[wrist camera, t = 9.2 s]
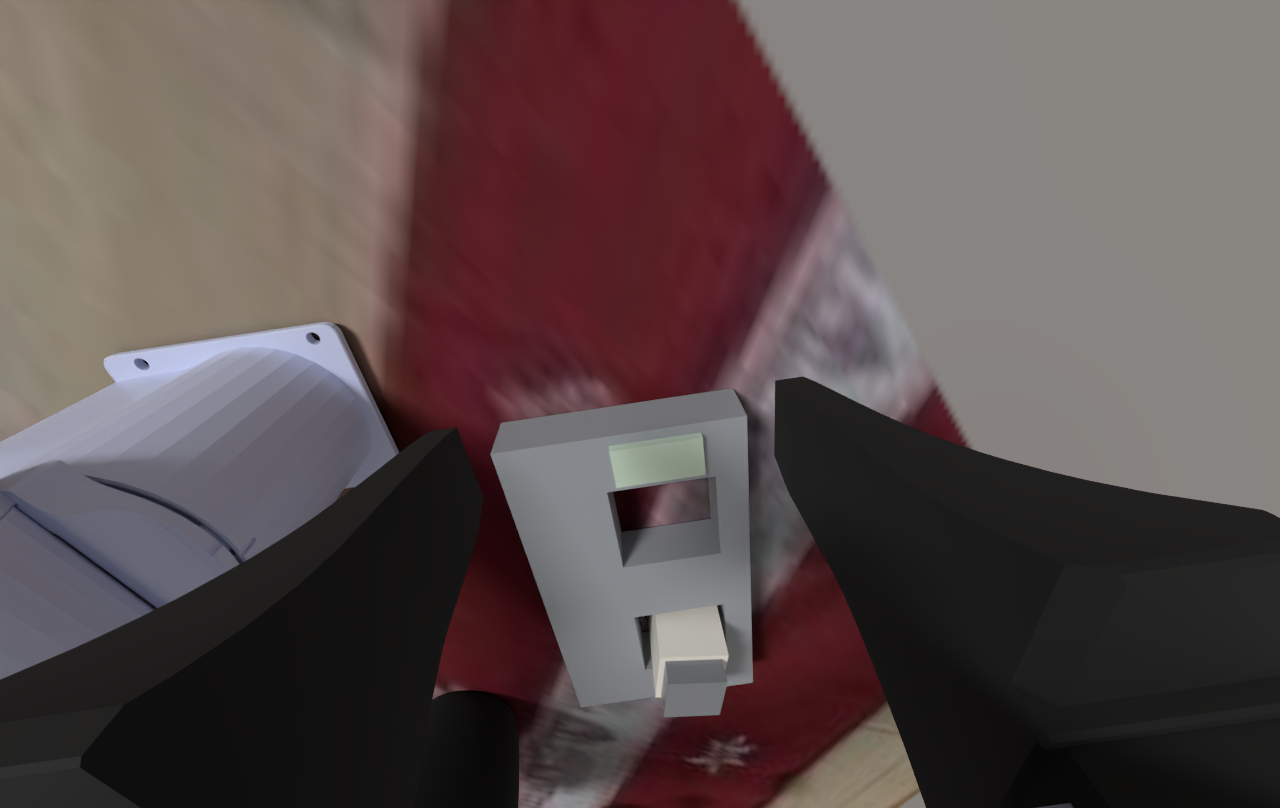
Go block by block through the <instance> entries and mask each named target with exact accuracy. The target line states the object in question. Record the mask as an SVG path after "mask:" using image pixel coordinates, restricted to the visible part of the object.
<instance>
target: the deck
mask: <svg viewBox="0 0 1280 808" xmlns="http://www.w3.org/2000/svg"><path fill="white" fill-rule="evenodd" d="M491 457H492V460H493V463H494V466H495V468H496V471H497V474H498V477H499V480H500V482H501V485H502V488H503V491H504V493H505V496H506V499H507V502H508V505H509V507H510V510H511V513H512V516H513V519H514V521H515V524H516V527H517V530H518V533H519V535H520V538H521V541H522V544H523V547H524V549H525V552H526V555H527V558H528V561H529V563H530V566H531V569H532V572H533V575H534V577H535V580H536V583H537V586H538V589H539V591H540V594H541V597H542V600H543V603H544V605H545V608H546V611H547V614H548V617H549V619H550V622H551V625H552V628H553V631H554V633H555V636H556V639H557V642H558V645H559V647H560V650H561V653H562V656H563V659H564V661H565V664H566V667H567V670H568V673H569V675H570V678H571V681H572V684H573V687H574V689H575V692H576V695H577V698H578V701H579V703H580V706H581V708H583V707H590V706H596V705H603V704H610V703H617V702H624V701H630V700H637V699H644V698H651V697H655V688H654V677H653V667H652V656H651V645H650V635H649V631H648V632H642V628H641V624H640V619H639V617H641V616H648V615H655V614H661V613H668V612H675V611H682V610H688V609H695V608H702V607H709V606H715V605H718V613H719V617H720V621H721V625H722V629H723V633H724V638H725V642H726V646H727V650H728V654H729V657H728V661H727V665H726V670H725V673H726V677H727V686H732V685H739V684H746V683H753V664H752V618H751V573H750V527H749V481H748V435H747V415H746V413H745V411H744V409H743V407H742V405H741V403H740V401H739V399H738V397H737V395H736V393H735V391H734V389H733V388H731V389H724V390H718V391H711V392H704V393H698V394H691V395H684V396H678V397H671V398H664V399H658V400H651V401H644V402H638V403H631V404H624V405H618V406H611V407H604V408H598V409H591V410H584V411H578V412H571V413H564V414H558V415H551V416H544V417H538V418H531V419H524V420H518V421H511V422H504V423H501V425H500V428H499V431H498V434H497V437H496V439H495V442H494V445H493V448H492V451H491ZM701 478H708V487H709V500H710V513H711V519H705V520H698V521H691V522H685V523H678V524H671V525H665V526H658V527H651V528H644V529H638V530H631V531H624V532H621V527H620V523H619V518H618V513H617V508H616V503H615V499H614V494H613V492H614V491H620V490H627V489H634V488H641V487H647V486H654V485H661V484H667V483H674V482H681V481H688V480H694V479H701ZM659 698H662V697H659Z"/></svg>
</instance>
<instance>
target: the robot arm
mask: <svg viewBox="0 0 1280 808" xmlns="http://www.w3.org/2000/svg"><path fill="white" fill-rule="evenodd" d="M311 332H313V333H315V334H317V335H318V336H319V337H320V341H318V340H316V339H314V338H313V337H312V335H311ZM143 360H145V361H146V362H147V363H148V364H149V365H147V364H146V363H145V362H144V361H143ZM104 366H105V368H106V370H107V371H108V373H109V374H110V375H111V377H112V378H113V379H114V380H115V382H116V383H114V384H112V385H110V386H108V387H106V388H104V389H102V390H100V391H98V392H96V393H94V394H92V395H91V396H89V397H87V398H85V399H83V400H81V401H79V402H77V403H75V404H73V405H71V406H69V407H67V408H65V409H63V410H62V411H60V412H58V413H56V414H54V415H52V416H50V417H48V418H46V419H44V420H42V421H40V422H38V423H36V424H34V425H33V426H31V427H29V428H27V429H25V430H23V431H21V432H19V433H17V434H15V435H13V436H11V437H9V438H7V439H5V440H4V441H2V442H0V808H414V806H415V799H416V792H417V786H418V779H419V772H420V766H421V759H422V753H423V747H424V741H425V736H426V730H427V725H428V719H429V713H430V708H431V702H432V697H433V692H434V687H435V682H436V678H437V673H438V668H439V663H440V658H441V654H442V649H443V645H444V642H445V638H446V634H447V631H448V627H449V624H450V621H451V618H452V615H453V612H454V609H455V605H456V602H457V599H458V596H459V593H460V590H461V587H462V584H463V581H464V578H465V574H466V571H467V568H468V565H469V562H470V559H471V555H472V552H473V549H474V546H475V542H476V539H477V535H478V529H479V524H480V518H481V511H482V504H483V494H482V492H481V489H480V487H479V484H478V482H477V479H476V476H475V474H474V471H473V469H472V466H471V463H470V461H469V458H468V456H467V453H466V451H465V448H464V445H463V443H462V440H461V438H460V435H459V432H458V430H457V427H456V428H449V429H442V430H435V431H430V432H428V433H426V434H425V435H423V436H421V437H420V438H418V439H417V440H416V441H414V442H413V443H412V444H410V445H409V446H408V447H406V448H405V449H404V450H402V451H401V452H400V453H399V451H398V449H397V447H396V445H395V442H394V440H393V438H392V436H391V434H390V432H389V430H388V428H387V426H386V424H385V421H384V419H383V417H382V415H381V413H380V411H379V409H378V407H377V405H376V402H375V400H374V398H373V396H372V394H371V392H370V390H369V388H368V386H367V384H366V381H365V379H364V377H363V375H362V373H361V371H360V369H359V367H358V365H357V363H356V360H355V358H354V356H353V354H352V352H351V350H350V348H349V346H348V344H347V341H346V339H345V337H344V335H343V333H342V331H341V330H340V328H339V327H338V326H336V325H335V324H333V323H330V322H320V323H313V324H307V325H300V326H294V327H287V328H280V329H274V330H267V331H260V332H254V333H247V334H241V335H234V336H227V337H221V338H214V339H208V340H201V341H194V342H188V343H181V344H174V345H168V346H161V347H155V348H148V349H141V350H135V351H128V352H121V353H116V354H113V355H111V356H109V357H107V358H105V360H104ZM774 455H775V458H776V461H777V463H778V466H779V469H780V471H781V474H782V477H783V479H784V482H785V484H786V487H787V489H788V492H789V494H790V496H791V497H792V499H793V501H794V503H795V505H796V507H797V508H798V510H799V512H800V514H801V516H802V518H803V519H804V521H805V523H806V525H807V527H808V528H809V530H810V532H811V534H812V536H813V537H814V539H815V541H816V543H817V545H818V546H819V548H820V550H821V552H822V554H823V555H824V557H825V559H826V561H827V563H828V564H829V566H830V568H831V570H832V572H833V573H834V575H835V577H836V579H837V581H838V583H839V585H840V587H841V589H842V591H843V594H844V596H845V598H846V601H847V603H848V605H849V608H850V610H851V612H852V615H853V617H854V619H855V622H856V624H857V626H858V629H859V631H860V633H861V636H862V638H863V641H864V643H865V646H866V648H867V651H868V653H869V656H870V658H871V661H872V663H873V666H874V668H875V671H876V673H877V676H878V678H879V680H880V683H881V685H882V688H883V691H884V693H885V696H886V699H887V701H888V704H889V707H890V709H891V712H892V715H893V717H894V720H895V722H896V725H897V728H898V730H899V733H900V736H901V738H902V741H903V744H904V746H905V749H906V752H907V755H908V758H909V760H910V763H911V766H912V769H913V772H914V775H915V777H916V780H917V783H918V786H919V789H920V792H921V794H922V797H923V800H924V803H925V806H926V808H1280V518H1278V517H1277V516H1275V515H1273V514H1271V513H1269V512H1266V511H1264V510H1259V509H1253V508H1246V507H1240V506H1233V505H1227V504H1220V503H1214V502H1207V501H1201V500H1194V499H1187V498H1180V497H1174V496H1167V495H1161V494H1155V493H1149V492H1144V491H1138V490H1133V489H1128V488H1123V487H1118V486H1113V485H1108V484H1103V483H1098V482H1093V481H1088V480H1084V479H1079V478H1075V477H1071V476H1066V475H1062V474H1058V473H1053V472H1049V471H1046V470H1042V469H1038V468H1034V467H1030V466H1027V465H1023V464H1019V463H1015V462H1012V461H1008V460H1004V459H1001V458H998V457H994V456H991V455H987V454H984V453H981V452H978V451H975V450H972V449H969V448H966V447H963V446H960V445H957V444H954V443H952V442H949V441H946V440H943V439H940V438H938V437H935V436H932V435H930V434H927V433H924V432H922V431H920V430H917V429H915V428H912V427H910V426H908V425H905V424H903V423H901V422H898V421H896V420H894V419H891V418H889V417H887V416H885V415H882V414H880V413H878V412H876V411H874V410H872V409H870V408H868V407H866V406H863V405H861V404H859V403H857V402H855V401H853V400H851V399H849V398H847V397H845V396H843V395H841V394H839V393H837V392H835V391H833V390H831V389H829V388H827V387H825V386H823V385H821V384H819V383H817V382H815V381H812V380H810V379H808V378H805V377H797V378H790V379H784V380H777V381H775V448H774ZM352 487H355V488H353V489H352V490H351V491H349V492H348V493H346V494H345V495H344V496H342V497H341V498H340V499H338V500H337V498H338V497H339V495H340V494H341V493H342V491H343V490H344V489H345V488H352ZM336 500H337V501H336Z"/></svg>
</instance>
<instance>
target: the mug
mask: <svg viewBox="0 0 1280 808" xmlns="http://www.w3.org/2000/svg"><path fill="white" fill-rule="evenodd" d="M518 797H519V742H518V731H517V725H516V721H515V718H514V715H513V712H512V710H511V709H510V707H509V706H508V705H507V704H506V703H505V702H504V701H502V700H500V699H499V698H497V697H495V696H492V695H489V694H485V693H481V692H473V691H459V692H452V693H447V694H444V695H441V696H439V697H436V698H435V699H433V700H432V702H431V708H430V713H429V719H428V725H427V730H426V736H425V741H424V747H423V753H422V759H421V766H420V772H419V779H418V786H417V792H416V799H415V806H414V808H518Z"/></svg>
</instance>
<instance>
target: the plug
mask: <svg viewBox="0 0 1280 808" xmlns="http://www.w3.org/2000/svg"><path fill="white" fill-rule="evenodd" d="M648 624H649V635H650V645H651V656H652V667H653V677H654V688H655V697H662V707H663V716H664V717H684V716H706V715H720V711H721V707H722V703H723V699H724V695H725V691H726V687H727V677H726V673H725V670H726V665H727V661H728V657H729V654H728V650H727V646H726V642H725V638H724V633H723V629H722V625H721V621H720V617H719V613H718V608H717V605H715V606H709V607H702V608H695V609H688V610H682V611H675V612H668V613H661V614H655V615H649V616H648Z"/></svg>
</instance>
